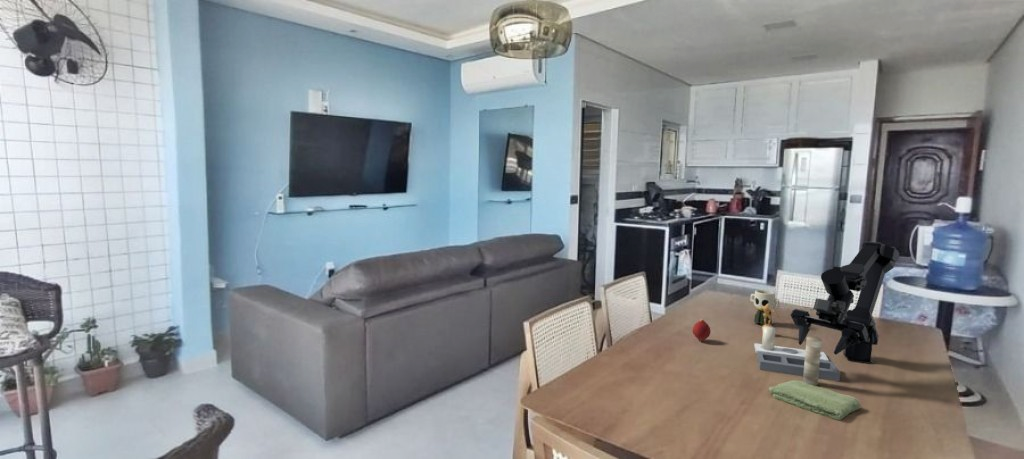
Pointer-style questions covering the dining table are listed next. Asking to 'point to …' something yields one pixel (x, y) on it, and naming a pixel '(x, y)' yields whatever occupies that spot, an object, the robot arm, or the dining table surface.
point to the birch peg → (812, 360)
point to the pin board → (795, 365)
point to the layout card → (769, 346)
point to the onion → (701, 330)
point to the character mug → (763, 304)
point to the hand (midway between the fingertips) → (816, 348)
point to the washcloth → (815, 399)
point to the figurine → (767, 310)
